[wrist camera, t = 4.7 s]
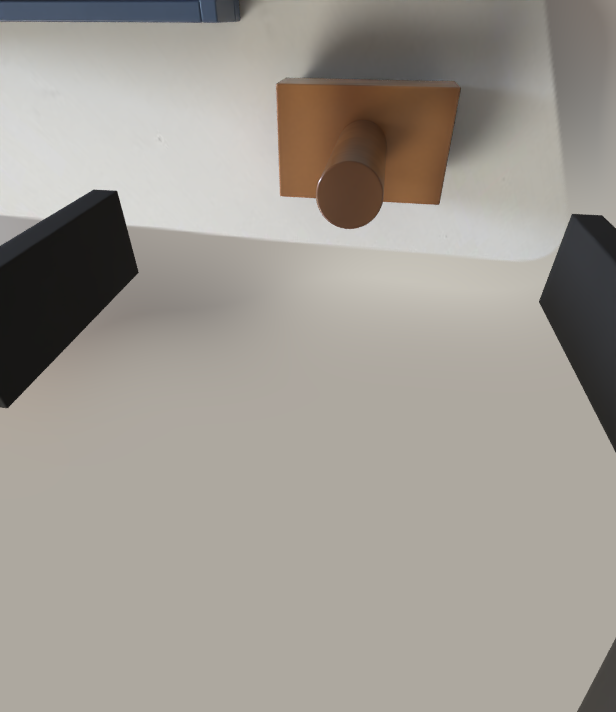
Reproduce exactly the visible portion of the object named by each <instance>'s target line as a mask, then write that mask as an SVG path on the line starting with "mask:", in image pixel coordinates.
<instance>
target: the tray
mask: <svg viewBox="0 0 616 712" xmlns="http://www.w3.org/2000/svg"><path fill="white" fill-rule="evenodd" d="M0 21H3V22H191V23H202V22H204V23H219V22H237V21H240V10H239V0H0Z"/></svg>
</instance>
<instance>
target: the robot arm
mask: <svg viewBox="0 0 616 712" xmlns="http://www.w3.org/2000/svg"><path fill="white" fill-rule="evenodd" d="M137 274H138V268H137V265H136V261H135V257H134V253H133V249H132V246H131V242H130V238H129V235H128V230H127V227H126V223H125V219H124V215H123V211H122V208H121V204H120V200H119V196H118V192H117V191H109V190H92V191H91V192H89V193H87V194H86V195H84V196H82V197H81V198H79V199H77V200H76V201H74V202H72V203H71V204H69V205H67V206H66V207H64V208H62V209H61V210H59V211H57V212H56V213H54V214H52V215H51V216H49V217H47V218H46V219H44V220H42V221H41V222H39V223H37V224H36V225H34V226H33V227H31V228H29V229H27V230H26V231H24V232H23V233H21V234H19V235H17V236H16V237H14V238H13V239H11V240H10V241H8V242H6V243H4V244H3V245H1V246H0V407H2V408H8V407H9V406H10V405H11V404H12V403H13V402H14V401H15V400H16V399H17V398H18V397H19V396H20V395H21V394H22V393H23V392H24V391H25V390H26V388H27V387H29V386H30V384H31V383H32V382H33V381H34V380H35V379H36V378H37V377H38V376H39V375H40V374H41V373H42V372H43V371H44V370H45V369H46V368H47V367H48V366H49V365H50V364H51V363H52V362H53V361H54V360H55V359H56V357H58V355H59V354H60V353H61V352H62V351H63V350H64V349H65V348H66V347H67V346H68V345H69V344H70V343H71V342H72V341H73V340H74V339H75V338H76V337H77V336H78V335H79V334H80V333H81V332H82V331H83V330H84V329H85V328H86V326H87V325H88V324H89V323H90V322H91V321H92V320H93V319H94V318H95V317H96V316H97V315H98V314H99V313H100V312H101V311H102V310H103V309H104V308H105V307H106V306H107V305H108V304H109V303H110V302H111V301H112V299H113V298H114V297H115V296H116V295H117V294H118V293H119V292H120V291H121V290H122V289H123V288H124V287H125V286H126V285H127V284H128V283H129V282H130V281H131V280H132V279H133V278H134V277H135V276H136V275H137ZM539 303H540V305H541V306H542V309H543V311H544V313H545V314H546V317H547V318H548V320H549V322H550V324H551V326H552V328H553V330H554V332H555V334H556V336H557V338H558V340H559V342H560V344H561V346H562V348H563V350H564V352H565V354H566V356H567V358H568V360H569V362H570V363H571V365H572V368H573V369H574V371H575V373H576V375H577V377H578V379H579V381H580V383H581V385H582V387H583V389H584V391H585V393H586V395H587V396H588V399H589V401H590V403H591V405H592V407H593V409H594V411H595V412H596V414H597V416H598V418H599V420H600V422H601V424H602V426H603V428H604V430H605V432H606V434H607V436H608V438H609V440H610V442H611V444H612V446H613V448H614V450H615V452H616V228H615V227H614V226H613V225H611V224H610V223H609V222H608V221H607V220H606V219H605V218H604V217H603V216H602V215H582V214H581V215H580V214H572V215H571V218H570V221H569V223H568V226H567V229H566V231H565V234H564V237H563V239H562V242H561V245H560V247H559V250H558V253H557V255H556V258H555V261H554V263H553V266H552V269H551V271H550V274H549V277H548V279H547V282H546V284H545V287H544V290H543V292H542V295H541V298H540V301H539ZM577 712H616V639H615V640H614V643H613V644H612V647H611V648H610V650H609V652H608V654H607V656H606V658H605V660H604V662H603V663H602V665H601V668H600V669H599V671H598V673H597V675H596V677H595V679H594V681H593V683H592V684H591V686H590V688H589V690H588V692H587V694H586V696H585V698H584V700H583V702H582V704H581V706H580V707H579V709H578V711H577Z"/></svg>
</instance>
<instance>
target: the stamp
mask: <svg viewBox="0 0 616 712" xmlns="http://www.w3.org/2000/svg"><path fill="white" fill-rule="evenodd" d="M460 90H461V88H460V87H459V85H458V84H457V83H456V82H455V81H421V80H373V79H325V78H285V79H283V80H282V81H280V82H278V83H277V84H276V95H277V123H278V150H279V177H280V196H286V197H305V198H316V200H317V205H318V208H319V210H320V212H321V213H322V215H323V216H324V217H325V219H326V220H328V221H329V222H330V223H331V224H333V225H335V226H337V227H340V228H345V229H354V228H359V227H362V226H364V225H366V224H368V223H369V222H370V221H372V220H373V219H374V218H375V217H376V215H377V214H378V212H379V211H380V208H381V206H382V203H383V202H397V203H416V204H434V205H439V203H440V198H441V193H442V187H443V182H444V176H445V171H446V166H447V160H448V155H449V150H450V144H451V139H452V133H453V128H454V123H455V117H456V112H457V106H458V101H459V96H460Z"/></svg>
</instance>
